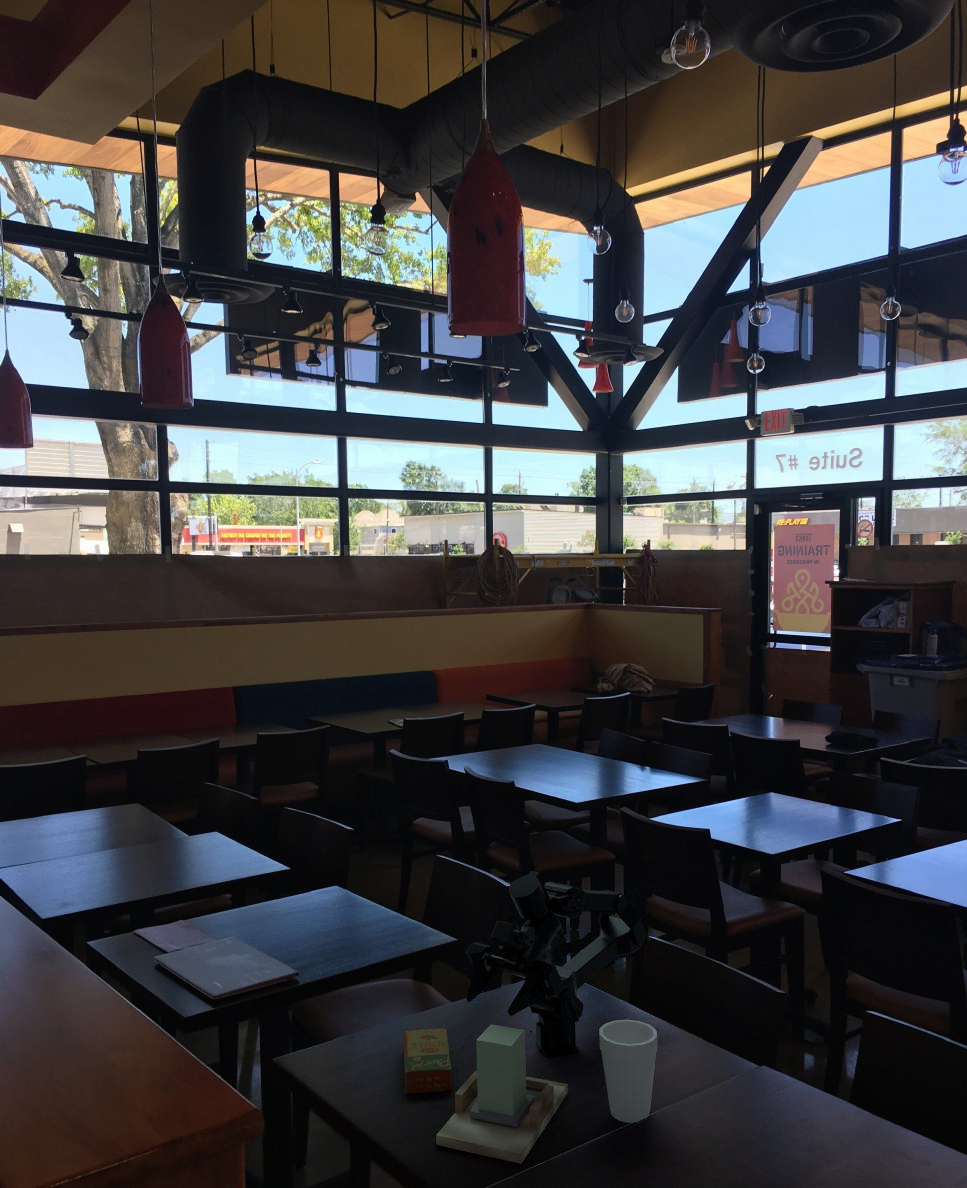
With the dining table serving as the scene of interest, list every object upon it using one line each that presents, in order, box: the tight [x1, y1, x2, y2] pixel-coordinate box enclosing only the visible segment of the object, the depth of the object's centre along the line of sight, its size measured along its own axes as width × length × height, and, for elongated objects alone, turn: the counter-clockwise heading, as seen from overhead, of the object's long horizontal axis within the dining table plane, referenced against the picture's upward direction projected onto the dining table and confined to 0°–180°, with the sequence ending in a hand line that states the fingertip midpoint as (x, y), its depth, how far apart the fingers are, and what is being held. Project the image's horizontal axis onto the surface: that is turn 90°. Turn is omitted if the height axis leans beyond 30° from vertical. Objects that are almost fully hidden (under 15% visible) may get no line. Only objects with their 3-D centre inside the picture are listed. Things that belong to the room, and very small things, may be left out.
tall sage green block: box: [470, 1023, 535, 1127], centre depth 155 cm, size 8×8×12 cm
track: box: [435, 1070, 569, 1165], centre depth 156 cm, size 22×14×4 cm, turn 157°
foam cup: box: [598, 1019, 659, 1124], centre depth 157 cm, size 10×9×13 cm
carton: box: [402, 1028, 454, 1095], centre depth 173 cm, size 8×16×4 cm, turn 6°
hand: (487, 1006), depth 165 cm, fingers open, 9 cm apart
